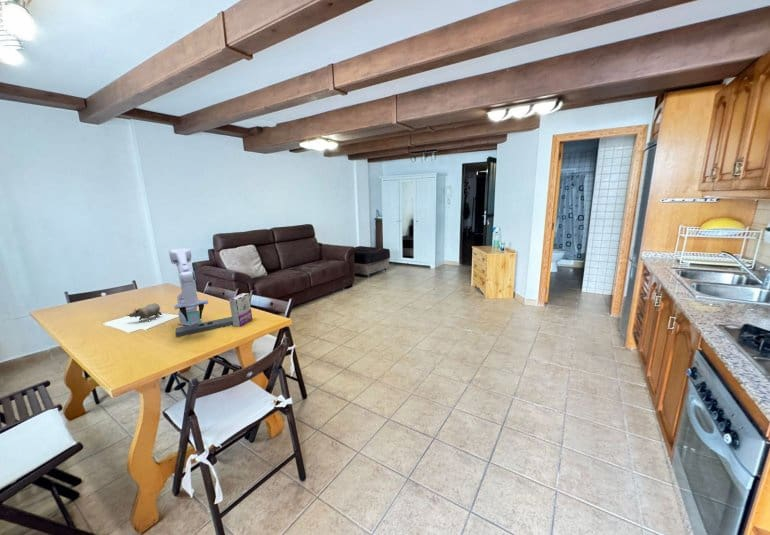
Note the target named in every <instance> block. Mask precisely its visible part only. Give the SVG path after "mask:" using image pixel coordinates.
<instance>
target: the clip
mask: <svg viewBox="0 0 770 535" xmlns="http://www.w3.org/2000/svg"><path fill="white" fill-rule="evenodd" d="M194 315H197V320H198V323H197V324H201V323H202V321H200V320H201V319H200V315H199V310H197V311H193V312H188V313H187V317H188V323H189V326H192V323H191V317H190V316H194Z"/></svg>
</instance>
